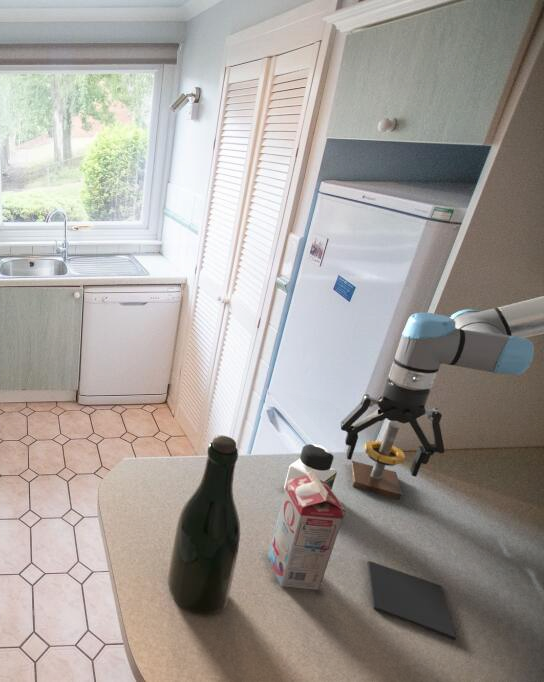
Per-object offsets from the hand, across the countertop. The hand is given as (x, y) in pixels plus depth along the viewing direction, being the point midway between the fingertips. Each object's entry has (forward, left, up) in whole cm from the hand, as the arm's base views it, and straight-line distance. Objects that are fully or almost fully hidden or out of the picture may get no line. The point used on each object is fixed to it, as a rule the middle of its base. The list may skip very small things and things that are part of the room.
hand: (379, 464), depth 107 cm
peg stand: (0, 0, -5) cm, 5 cm away
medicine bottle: (+14, +12, -5) cm, 19 cm away
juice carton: (+16, +38, -5) cm, 42 cm away
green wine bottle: (+31, +51, -5) cm, 60 cm away
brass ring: (0, 0, +3) cm, 3 cm away
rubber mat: (-2, +34, -5) cm, 34 cm away
